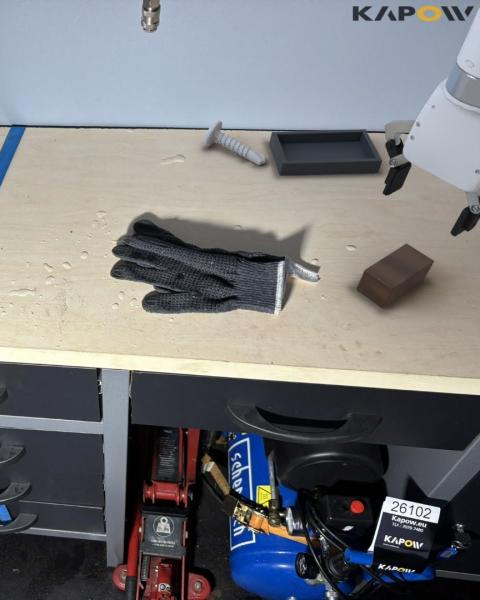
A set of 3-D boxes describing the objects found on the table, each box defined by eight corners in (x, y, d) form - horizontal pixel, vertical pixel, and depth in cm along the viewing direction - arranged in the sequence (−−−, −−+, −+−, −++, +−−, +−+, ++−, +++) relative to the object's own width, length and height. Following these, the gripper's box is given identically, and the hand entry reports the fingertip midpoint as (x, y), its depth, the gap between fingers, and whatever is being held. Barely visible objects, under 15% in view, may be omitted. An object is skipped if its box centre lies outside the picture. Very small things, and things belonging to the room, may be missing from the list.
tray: (361, 141, 110) (365, 129, 108) (377, 173, 103) (382, 160, 101) (269, 143, 110) (271, 131, 109) (279, 175, 104) (282, 163, 102)
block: (396, 262, 89) (406, 243, 86) (423, 280, 86) (434, 260, 83) (355, 289, 86) (364, 269, 83) (382, 308, 83) (392, 289, 80)
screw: (202, 147, 112) (218, 123, 111) (257, 178, 109) (273, 154, 108) (199, 139, 107) (215, 114, 107) (255, 171, 104) (272, 146, 103)
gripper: (592, 106, 60) (507, 236, 72) (436, 43, 70) (385, 167, 82) (550, 132, 57) (469, 261, 70) (394, 62, 67) (348, 187, 80)
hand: (424, 210), depth 76 cm, fingers open, 9 cm apart
